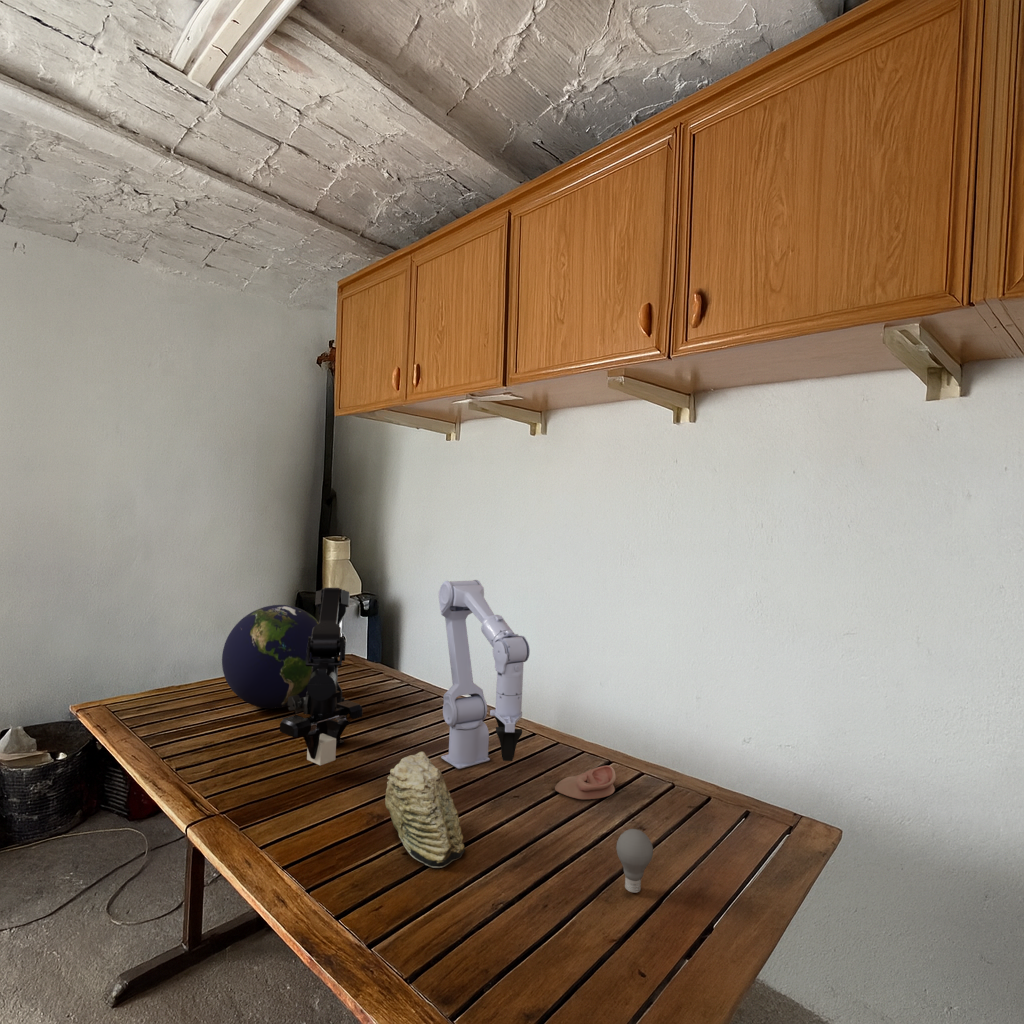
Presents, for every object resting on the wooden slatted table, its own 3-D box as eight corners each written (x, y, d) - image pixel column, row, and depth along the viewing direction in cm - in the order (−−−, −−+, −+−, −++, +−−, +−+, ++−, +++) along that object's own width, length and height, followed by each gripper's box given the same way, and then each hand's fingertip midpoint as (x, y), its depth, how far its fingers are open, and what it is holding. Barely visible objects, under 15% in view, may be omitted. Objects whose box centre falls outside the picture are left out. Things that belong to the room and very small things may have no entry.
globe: (289, 685, 209) (292, 594, 208) (348, 705, 191) (352, 606, 191) (199, 706, 185) (203, 604, 184) (258, 732, 167) (262, 619, 167)
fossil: (411, 815, 127) (414, 741, 127) (473, 855, 114) (476, 772, 114) (373, 831, 121) (376, 753, 120) (434, 874, 108) (437, 787, 107)
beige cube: (322, 754, 147) (322, 733, 146) (335, 760, 144) (336, 738, 144) (306, 759, 143) (307, 738, 143) (320, 765, 140) (321, 743, 140)
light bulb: (610, 879, 108) (613, 822, 108) (644, 879, 109) (647, 822, 109) (619, 902, 102) (622, 840, 102) (655, 901, 103) (658, 840, 103)
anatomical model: (553, 777, 138) (560, 757, 150) (552, 795, 138) (559, 774, 150) (614, 786, 136) (616, 764, 147) (613, 804, 136) (616, 781, 147)
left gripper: (334, 672, 155) (332, 735, 156) (266, 688, 140) (263, 758, 141) (365, 681, 149) (362, 747, 149) (296, 699, 134) (293, 772, 134)
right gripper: (490, 681, 146) (487, 740, 146) (491, 701, 132) (489, 766, 132) (520, 682, 147) (518, 740, 147) (525, 702, 132) (522, 767, 132)
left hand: (321, 755), depth 143 cm, fingers closed on beige cube, 4 cm apart
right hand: (506, 753), depth 139 cm, fingers open, 7 cm apart
